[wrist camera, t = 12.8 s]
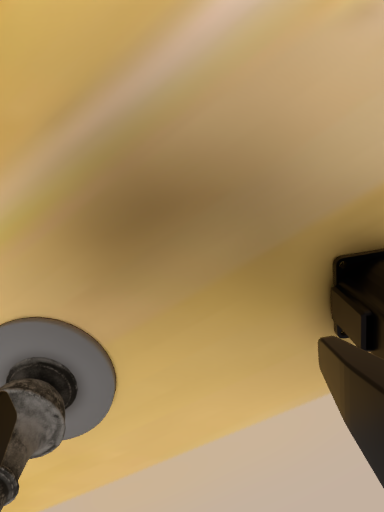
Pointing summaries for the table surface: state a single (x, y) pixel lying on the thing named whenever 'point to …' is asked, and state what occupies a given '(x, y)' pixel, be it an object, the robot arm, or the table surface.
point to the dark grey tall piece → (34, 416)
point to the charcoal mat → (71, 356)
